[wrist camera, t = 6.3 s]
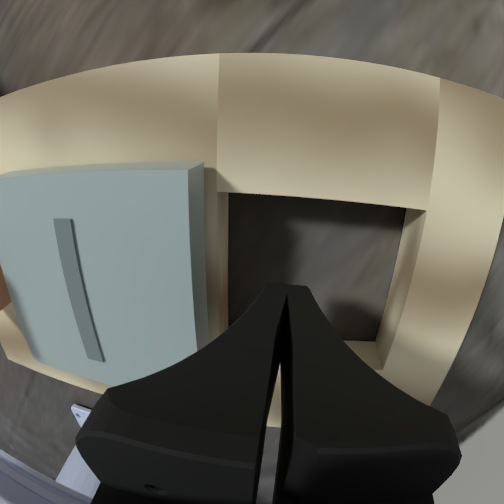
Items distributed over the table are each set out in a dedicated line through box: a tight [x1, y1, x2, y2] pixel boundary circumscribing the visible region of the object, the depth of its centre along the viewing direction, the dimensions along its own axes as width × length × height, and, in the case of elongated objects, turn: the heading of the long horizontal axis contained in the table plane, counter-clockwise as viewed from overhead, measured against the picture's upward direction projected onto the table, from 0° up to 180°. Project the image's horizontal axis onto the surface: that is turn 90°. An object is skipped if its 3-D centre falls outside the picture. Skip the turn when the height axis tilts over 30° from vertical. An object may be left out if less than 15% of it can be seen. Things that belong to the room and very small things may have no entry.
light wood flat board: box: [0, 53, 504, 427], centre depth 13 cm, size 16×26×2 cm, turn 88°
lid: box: [0, 162, 209, 386], centre depth 11 cm, size 9×9×2 cm
